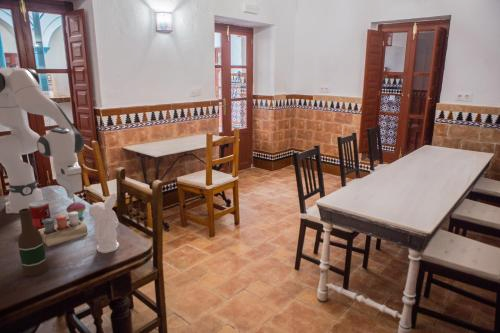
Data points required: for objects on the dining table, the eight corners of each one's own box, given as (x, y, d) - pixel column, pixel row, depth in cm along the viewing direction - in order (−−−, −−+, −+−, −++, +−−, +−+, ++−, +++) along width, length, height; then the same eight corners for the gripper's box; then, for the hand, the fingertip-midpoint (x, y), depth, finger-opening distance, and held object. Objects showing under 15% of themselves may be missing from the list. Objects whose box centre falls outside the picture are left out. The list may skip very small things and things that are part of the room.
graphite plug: (43, 232, 152) (41, 220, 151) (54, 229, 155) (51, 217, 154) (46, 235, 150) (44, 223, 148) (57, 232, 152) (55, 220, 151)
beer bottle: (30, 266, 134) (18, 205, 127) (52, 265, 134) (41, 205, 128) (19, 278, 126) (6, 214, 120) (42, 276, 127) (30, 213, 120)
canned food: (43, 229, 163) (39, 206, 160) (28, 228, 165) (24, 205, 162) (55, 222, 170) (52, 200, 167) (41, 221, 172) (37, 199, 169)
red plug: (56, 228, 156) (53, 216, 154) (66, 225, 159) (64, 214, 157) (59, 231, 153) (57, 219, 151) (69, 228, 156) (67, 216, 154)
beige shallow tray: (39, 238, 155) (38, 229, 154) (78, 226, 166) (76, 218, 165) (48, 246, 148) (46, 238, 147) (87, 234, 159) (86, 225, 157)
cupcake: (64, 217, 176) (61, 193, 173) (82, 211, 182) (79, 189, 179) (72, 222, 171) (68, 198, 167) (89, 216, 177) (86, 193, 173)
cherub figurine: (100, 257, 140) (91, 204, 134) (86, 246, 148) (77, 196, 142) (128, 245, 149) (122, 195, 142) (113, 236, 157) (107, 188, 150)
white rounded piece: (68, 225, 159) (66, 213, 158) (77, 222, 162) (76, 210, 161) (71, 228, 156) (69, 216, 155) (81, 225, 159) (79, 213, 158)
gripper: (49, 163, 157) (54, 193, 160) (66, 172, 143) (72, 205, 146) (64, 160, 161) (69, 190, 165) (82, 169, 147) (87, 200, 151)
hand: (70, 197), depth 155 cm, fingers closed
